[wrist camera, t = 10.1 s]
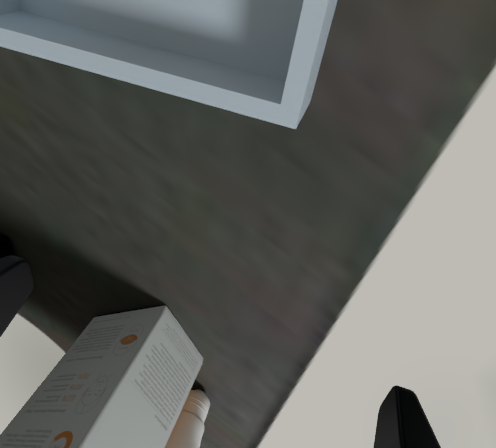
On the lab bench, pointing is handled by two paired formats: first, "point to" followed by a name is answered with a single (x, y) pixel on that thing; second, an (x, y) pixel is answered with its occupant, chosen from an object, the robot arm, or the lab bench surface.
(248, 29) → the sorting tray
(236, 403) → the lab bench surface
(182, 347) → the small box
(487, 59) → the lab bench surface
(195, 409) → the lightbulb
